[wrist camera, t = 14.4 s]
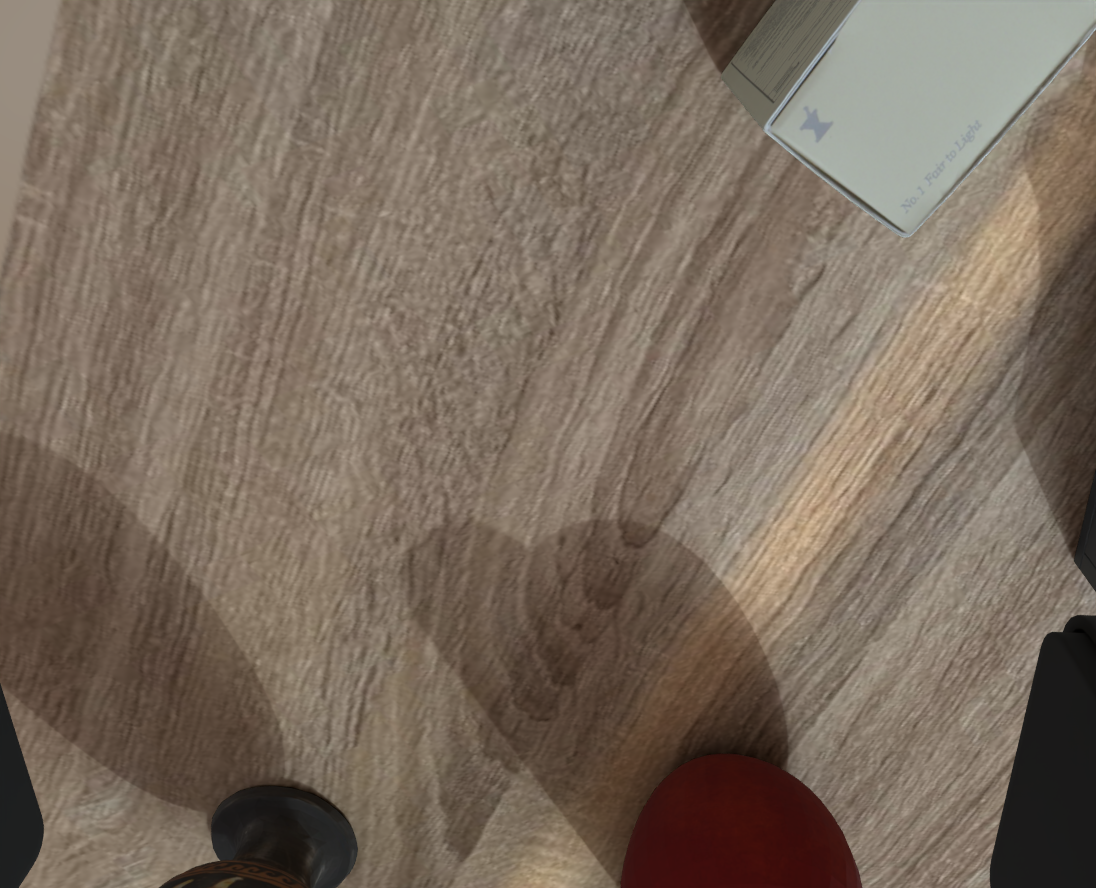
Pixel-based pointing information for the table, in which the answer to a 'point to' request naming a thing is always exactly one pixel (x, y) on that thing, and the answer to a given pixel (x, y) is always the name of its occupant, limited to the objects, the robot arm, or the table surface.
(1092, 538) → the holder
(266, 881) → the vase
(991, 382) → the table surface
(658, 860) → the apple
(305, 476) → the table surface
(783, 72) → the cosmetic box
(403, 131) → the table surface
